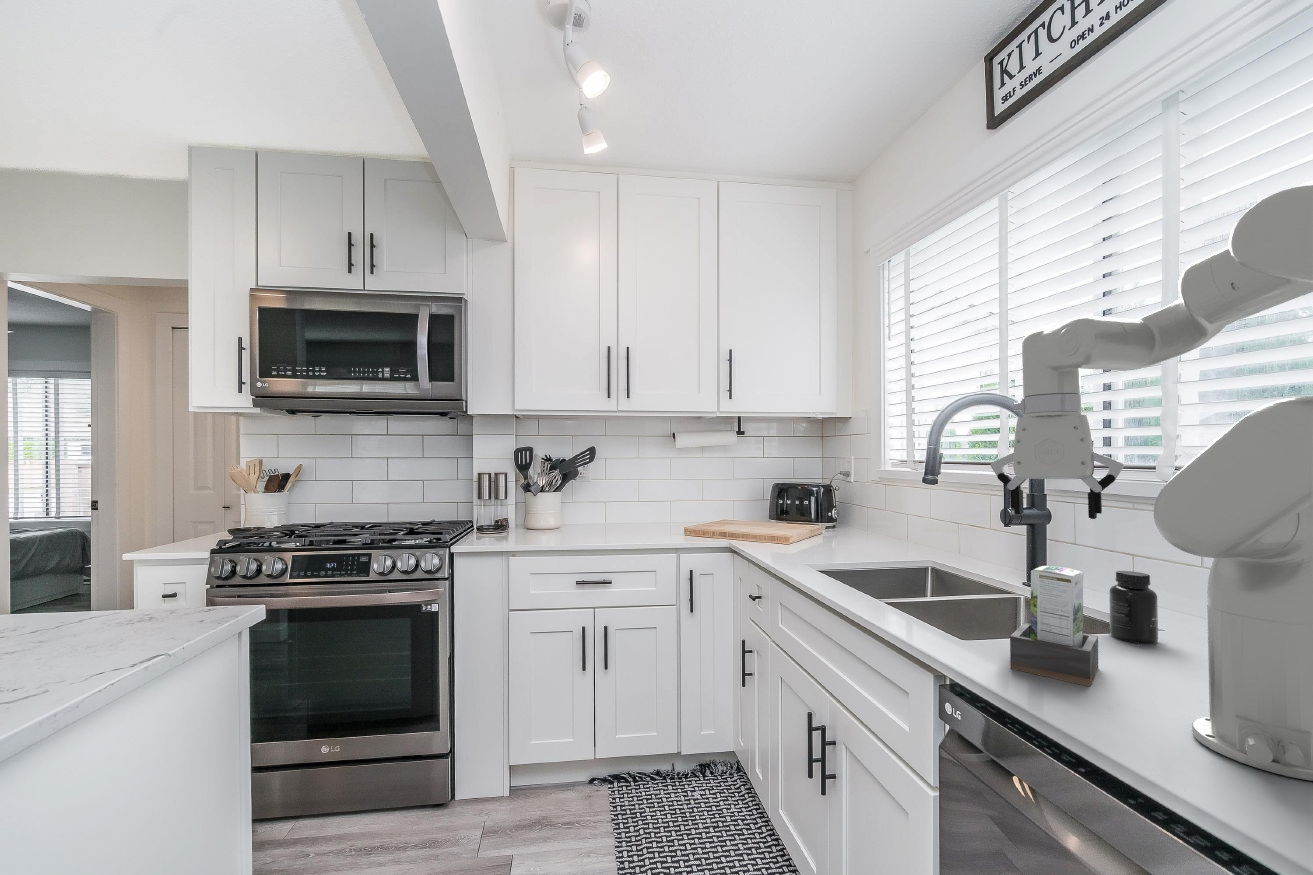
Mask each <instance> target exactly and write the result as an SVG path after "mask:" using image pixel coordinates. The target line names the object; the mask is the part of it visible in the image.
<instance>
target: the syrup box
mask: <svg viewBox="0 0 1313 875" xmlns="http://www.w3.org/2000/svg"><path fill="white" fill-rule="evenodd" d="M1029 624H1031V625H1030V628H1031V629H1030V638H1031V639H1036V640H1042V641H1047V642H1052V643H1057V644H1062V645H1068V646H1073V647H1078V648H1083V633H1084V572H1083V571H1081V570H1077V569H1074V568H1073V569H1072V568H1069V567H1063V566H1054V565H1053V566H1052V565H1042V566H1038V567H1036V568H1034V569H1032V570H1031V571H1030V623H1029Z"/></svg>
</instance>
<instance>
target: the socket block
mask: <svg viewBox="0 0 1313 875" xmlns="http://www.w3.org/2000/svg"><path fill="white" fill-rule="evenodd" d="M1030 625H1031V624H1030V623H1027V622H1023V623H1022V624H1021V625H1020V626H1019V627H1018V628H1016V630H1015V631H1014V632H1012V634H1011V635H1010V636H1009V646H1010V647H1009V648H1010V650H1009V651H1010V652H1009V653H1010V654H1009V656H1010V657H1009V658H1010V661H1009V662H1010V665H1009V666H1010V668H1009V669H1012V670H1016V671H1019V672H1024V673H1030V674H1034V675H1038V676H1043V677H1047V678H1052V679H1055V680H1059V681H1064V682H1069V683H1073V684H1076V685H1077V684H1078V685H1082V686H1086V687H1091V686H1092V684H1093V681H1094V679H1095V676H1096V675H1097V672H1098V670H1099V636H1098V635H1094V634H1090V633H1089V634H1088V633H1084V632H1083V648H1078V647H1073V646H1068V645H1062V644H1057V643H1052V642H1047V641H1042V640H1036V639H1031V638H1030V629H1031V628H1030Z"/></svg>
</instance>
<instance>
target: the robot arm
mask: <svg viewBox="0 0 1313 875" xmlns="http://www.w3.org/2000/svg"><path fill="white" fill-rule="evenodd" d="M1178 291H1179V292H1178V293H1179V296H1180V298H1179V299H1178V300H1175V301H1174V302H1173V303H1171V304H1169V305H1166V306H1165V307H1162V308H1160V309H1158V310H1155V311H1153V312H1151V313H1149V314H1147V315H1144V316H1141V317H1138V318H1136V319H1128V318H1116V317H1104V316H1103V317H1101V316H1090V315H1089V316H1080V317H1075V318H1072V319H1069V320H1067V321H1065V322H1063V323H1061V324H1059V325H1057V326H1055V327H1052V328H1047V329H1040V330H1035V331H1033V332H1030V333H1028V334H1027V335H1025V337H1023V339H1022V342H1021V351H1022V352H1021V353H1022V354H1021V356H1022V357H1021V358H1022V392H1023V393H1022V394H1023V395H1022V396H1023V397H1022V398H1021V400H1020V401H1018V402H1014V403H1012V409H1013V412H1021V413H1022V414H1023V416H1021V417H1018V418H1017V420H1016V425H1015V431H1014V432H1015V433H1014V443H1013V452H1012V453H1009V454H1008V455H1006V456H1003V457H1001V458H999V459H997V460H995V461H992V462H991V463H990V468H991V469H992V470H993V472H994V475H996V477H997V479H998V481H1000V482H1001V483H1002V484H1003V485H1004V486H1005V487H1006V488H1007V489H1008V490H1009V504H1010V507H1009V508H1010V509H1011V510H1013V511H1014V515H1017V516H1018V515H1022V514H1024V491H1023V489H1022V488H1021V486H1022V485H1023V484H1024V483H1025V482H1026V481H1027V480H1029V479H1034V480H1035V479H1036V480H1038V479H1039V480H1081V481H1082V482H1083V483H1085V485H1086V486H1087V487H1088V488H1089V492H1087V509H1088V510H1087V512H1088V514H1087V515H1088V518H1089V519H1090V520H1095V519H1097V516H1098V514H1099V515H1100V514H1102V513H1103V512H1102V511H1103V510H1102V507H1103V506H1102V504H1103V502H1102V492H1103V491H1105V489H1107V488H1108V487H1109V486H1110V485H1112V484H1113V483H1114V482H1116V480H1117V478H1118V477H1119V475H1120V474H1121V472H1122V471H1123V468H1124V467H1125V464H1124V463H1123V462H1120V461H1118V460H1116V459H1114V458H1111V457H1109V456H1105V455H1103V454H1100V453H1098V452H1096V451H1094V449H1093V448H1094V447H1093V441H1092V433H1091V428H1090V423H1089V419H1088V417H1087V414H1082V401H1081V400H1082V399H1081V398H1082V397H1081V396H1082V395H1081V394H1082V393H1081V370H1083V369H1084V370H1106V371H1107V370H1109V371H1124V372H1125V371H1126V372H1127V371H1136V370H1141V369H1145V368H1148V367H1151V366H1154V365H1158V364H1160V363H1162V362H1166V361H1168V360H1171V359H1174V358H1176V357H1179V356H1182V355H1184V354H1187V353H1190V352H1191V351H1194V350H1197V348H1200V347H1202V346H1203V345H1205V344H1207V342H1209V341H1210V340H1211V339H1213V338H1215V337H1216V336H1218V335H1219V334H1220V333H1221V332H1222V331H1223V330H1224V329H1225V328H1226V327H1227V326H1229V325H1231V324H1233V323H1235V322H1238V321H1242V320H1243V319H1246V318H1249V317H1251V316H1254V315H1256V314H1259V313H1261V312H1263V311H1266V310H1269V309H1271V308H1274V307H1276V306H1279V305H1282V304H1284V303H1287V302H1290V301H1292V300H1294V299H1297V298H1300V297H1304V296H1305V295H1308V294H1312V293H1313V185H1302V186H1294V187H1291V188H1287V189H1284V190H1281V191H1278V192H1276V193H1273V194H1271V195H1269V196H1267V197H1265V198H1263V199H1261V200H1259V201H1258V202H1257V203H1255V204H1254V205H1251V207H1250V208H1248V209H1247V210H1246V211H1245V212H1244V213H1243V214H1242V215H1241V216H1240V218H1239V219H1238V220H1236V222H1235V224H1234V226H1233V228H1232V229H1231V232H1230V235H1229V239H1228V246H1227V247H1225V248H1222V249H1221V250H1218V251H1216V252H1214V253H1213V254H1211V255H1208V256H1207V257H1205V258H1202V259H1199V260H1198V261H1196V262H1194V263H1191V264H1190V265H1188V266H1187V267H1186V268H1185V269H1184V270H1183V271H1182V273H1181V275H1180V277H1179V280H1178ZM1095 462H1096V463H1099V464H1101V465H1104V466H1106V467H1108V469H1109V470H1108V471H1107V474H1106V475H1105V476H1104V477H1103V478H1101V479H1100V480H1098V479H1096V477H1095V476H1093V475H1094V471H1095ZM1011 463H1012V467H1013V472H1014V475H1015V476H1014V477H1013V478H1012V477H1011V476H1009V474H1007V472H1006V471H1005V469H1004V467H1005V466H1007V465H1010V464H1011ZM1153 519H1154V524H1155V526H1156V528H1157V530H1158V532H1159V533H1160V535H1161V536H1162V538H1164V540H1165V541H1166V542H1168V543H1169V544H1170V545H1172V546H1173V547H1174V548H1177V549H1178V550H1180V551H1182V552H1184V553H1187V554H1190V555H1193V556H1198V557H1203V558H1208V559H1209V558H1211V559H1213V560H1212V563H1211V567H1210V569H1209V570H1210V571H1209V574H1208V580H1207V604H1206V605H1207V606H1206V607H1207V608H1206V609H1207V612H1206V613H1207V645H1208V646H1207V648H1208V649H1207V650H1208V652H1207V654H1208V694H1209V696H1208V697H1209V698H1208V700H1209V702H1208V704H1209V716H1206V717H1200V718H1197V719H1194V720H1193V722H1192V724H1191V726H1192V727H1191V732H1192V735H1193V736H1194V738H1195V739H1196V740H1197V741H1198V742H1199V743H1201V744H1203V745H1204V746H1205V747H1207V748H1209V749H1211V750H1213V752H1216V753H1219V754H1220V755H1221V756H1224V757H1227V758H1229V759H1231V760H1233V761H1237V762H1239V763H1241V764H1245V765H1247V766H1250V767H1252V768H1255V769H1260V770H1262V771H1266V772H1269V773H1271V774H1272V773H1274V774H1277V775H1281V776H1284V777H1288V778H1289V777H1290V778H1294V779H1300V780H1304V781H1312V782H1313V395H1312V396H1311V395H1310V396H1309V395H1308V396H1307V395H1306V396H1304V395H1303V396H1295V397H1288V398H1283V399H1280V400H1276V401H1273V402H1270V403H1268V404H1265V405H1263V406H1261V407H1259V408H1257V409H1255V410H1253V411H1252V412H1250V413H1248V414H1247V415H1245V416H1243V417H1242V418H1240V419H1239V420H1238V421H1236V422H1235V423H1234V424H1233V425H1231V426H1230V427H1229V428H1228V429H1227V430H1226V431H1224V432H1223V433H1222V434H1220V436H1219V437H1217V438H1216V439H1215V440H1214V441H1212V442H1211V443H1210V444H1209V445H1208V446H1207V447H1206V448H1205V449H1204V450H1202V451H1201V452H1199V454H1198V455H1196V456H1194V458H1193V459H1192V460H1191V461H1189V462H1188V463H1187V464H1186V465H1185V466H1183V467H1182V468H1181V469H1180V470H1179V471H1178V472H1177V473H1176V474H1174V475H1173V476H1172V477H1171V478H1170V479H1169V480H1168V481H1167V482H1166V483H1165V484H1164V485H1163V487H1162V488H1161V489H1160V491H1159V493H1158V494H1157V496H1156V499H1155V502H1154V506H1153Z"/></svg>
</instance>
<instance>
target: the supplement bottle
mask: <svg viewBox="0 0 1313 875" xmlns="http://www.w3.org/2000/svg"><path fill="white" fill-rule="evenodd" d="M1115 582H1116V583H1117V584H1113V585H1112V586H1111V587H1110V588H1109V593H1108V594H1109V633H1110V635H1111V636H1112V637H1113V636H1114V638H1115V639H1118V640H1120V641H1125V642H1129V643H1135V644H1143V645H1152V644H1153V645H1154V644H1156V643H1158V641H1159V615H1158V614H1159V610H1158V609H1159V608H1158V607H1159V606H1158V605H1159V604H1158V600H1159V599H1158V595H1157V593H1156V592H1155V591H1154V590H1153V589H1151V588H1149V587H1150V586H1151V575H1150V574H1148V573H1145V572H1139V571H1131V570H1117V571H1115Z"/></svg>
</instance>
